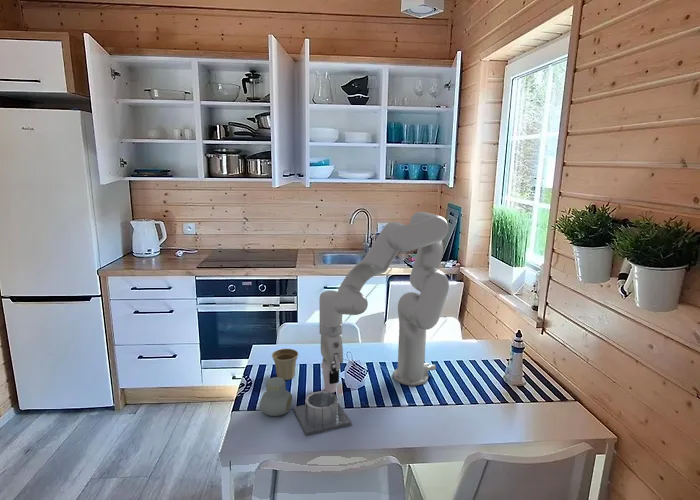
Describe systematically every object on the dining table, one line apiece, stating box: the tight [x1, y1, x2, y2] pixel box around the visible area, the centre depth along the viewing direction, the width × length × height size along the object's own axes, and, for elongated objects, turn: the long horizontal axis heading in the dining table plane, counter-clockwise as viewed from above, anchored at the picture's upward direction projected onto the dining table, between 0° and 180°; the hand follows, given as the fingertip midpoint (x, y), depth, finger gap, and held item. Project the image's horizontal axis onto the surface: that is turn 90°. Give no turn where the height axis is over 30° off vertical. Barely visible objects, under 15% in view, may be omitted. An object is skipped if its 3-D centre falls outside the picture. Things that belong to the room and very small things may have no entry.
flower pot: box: [271, 348, 299, 381], centre depth 157 cm, size 9×9×9 cm
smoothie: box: [320, 361, 338, 394], centre depth 147 cm, size 6×6×14 cm
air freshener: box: [259, 376, 293, 417], centre depth 136 cm, size 11×8×10 cm
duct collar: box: [292, 390, 352, 437], centre depth 133 cm, size 14×14×6 cm
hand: (330, 377), depth 148 cm, fingers closed on smoothie, 6 cm apart
